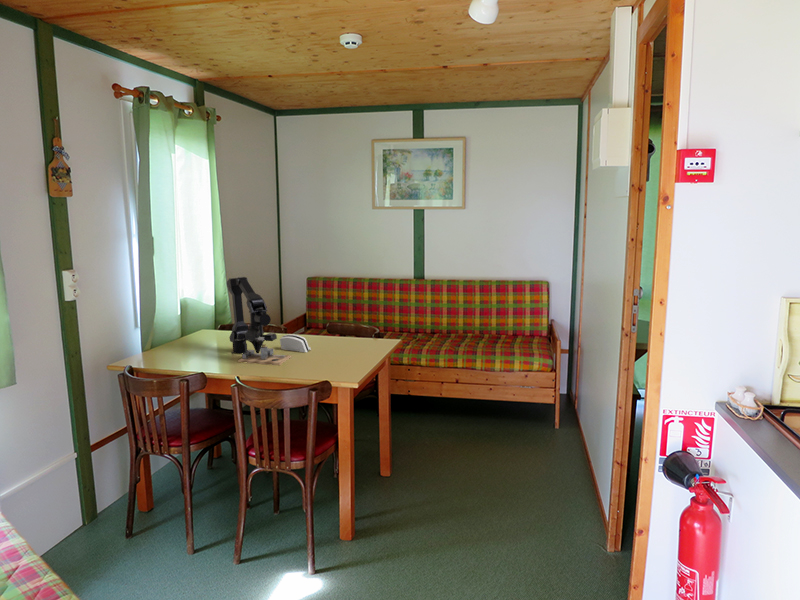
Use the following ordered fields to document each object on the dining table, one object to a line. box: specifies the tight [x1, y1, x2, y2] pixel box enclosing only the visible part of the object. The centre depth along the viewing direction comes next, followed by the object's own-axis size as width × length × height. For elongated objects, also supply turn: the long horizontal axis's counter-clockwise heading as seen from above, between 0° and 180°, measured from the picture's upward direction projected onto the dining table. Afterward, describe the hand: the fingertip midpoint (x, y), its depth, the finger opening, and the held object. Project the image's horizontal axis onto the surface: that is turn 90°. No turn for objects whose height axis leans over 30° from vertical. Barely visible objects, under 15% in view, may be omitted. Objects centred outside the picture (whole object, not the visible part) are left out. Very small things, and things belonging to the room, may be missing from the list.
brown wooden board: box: [237, 354, 292, 366], centre depth 282 cm, size 22×14×1 cm, turn 78°
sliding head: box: [259, 343, 274, 360], centre depth 281 cm, size 4×8×7 cm, turn 168°
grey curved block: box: [279, 333, 312, 353], centre depth 302 cm, size 17×5×10 cm, turn 63°
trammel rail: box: [241, 349, 286, 359], centre depth 282 cm, size 20×8×3 cm, turn 78°
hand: (257, 353), depth 280 cm, fingers closed
